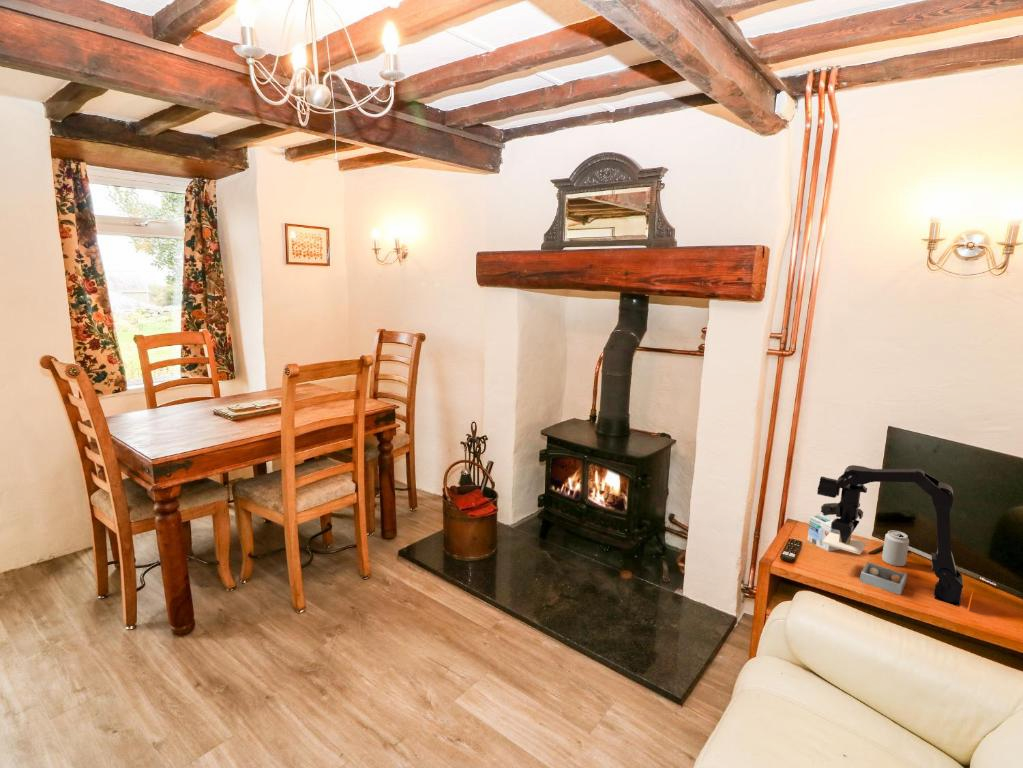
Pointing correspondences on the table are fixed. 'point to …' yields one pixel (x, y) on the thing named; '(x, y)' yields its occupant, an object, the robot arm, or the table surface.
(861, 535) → the table surface
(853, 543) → the lid
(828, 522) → the light bulb box
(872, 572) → the ball
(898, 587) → the box
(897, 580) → the ball
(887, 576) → the ball
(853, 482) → the robot arm
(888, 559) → the can
